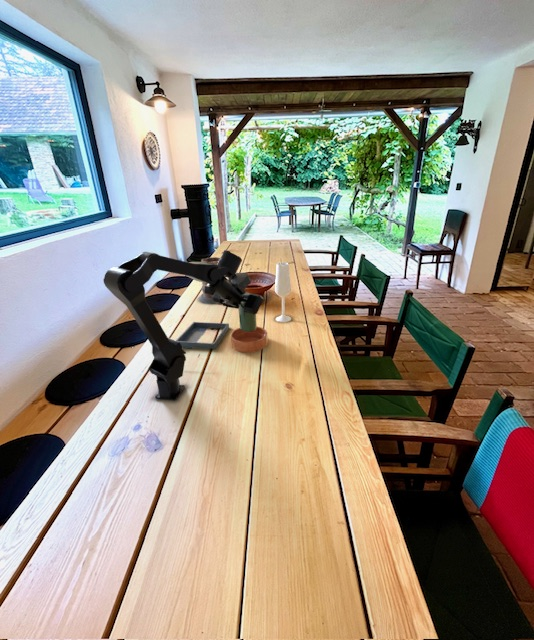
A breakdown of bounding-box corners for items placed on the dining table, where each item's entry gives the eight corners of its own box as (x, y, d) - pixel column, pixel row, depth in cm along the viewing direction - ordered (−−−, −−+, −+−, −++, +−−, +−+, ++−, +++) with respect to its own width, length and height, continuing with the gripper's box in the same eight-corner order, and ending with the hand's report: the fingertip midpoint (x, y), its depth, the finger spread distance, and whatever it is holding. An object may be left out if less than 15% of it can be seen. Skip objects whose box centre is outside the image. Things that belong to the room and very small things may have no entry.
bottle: (254, 332, 112) (252, 297, 107) (237, 331, 113) (235, 296, 108) (258, 324, 117) (256, 291, 112) (242, 324, 118) (240, 290, 113)
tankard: (231, 302, 157) (228, 262, 149) (197, 304, 156) (191, 264, 148) (233, 287, 178) (230, 251, 170) (203, 289, 178) (198, 253, 169)
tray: (215, 350, 115) (214, 344, 114) (175, 347, 118) (174, 341, 117) (229, 329, 131) (228, 323, 129) (194, 327, 133) (193, 321, 132)
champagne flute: (293, 317, 139) (293, 262, 129) (288, 323, 134) (287, 266, 124) (279, 314, 142) (278, 261, 132) (273, 320, 136) (271, 265, 126)
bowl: (263, 355, 111) (262, 343, 109) (226, 352, 113) (225, 341, 112) (270, 337, 123) (270, 326, 121) (237, 335, 125) (236, 325, 123)
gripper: (258, 271, 97) (280, 295, 110) (215, 263, 108) (240, 285, 121) (242, 303, 95) (266, 324, 107) (200, 292, 106) (227, 312, 118)
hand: (249, 310), depth 113 cm, fingers closed on bottle, 6 cm apart
